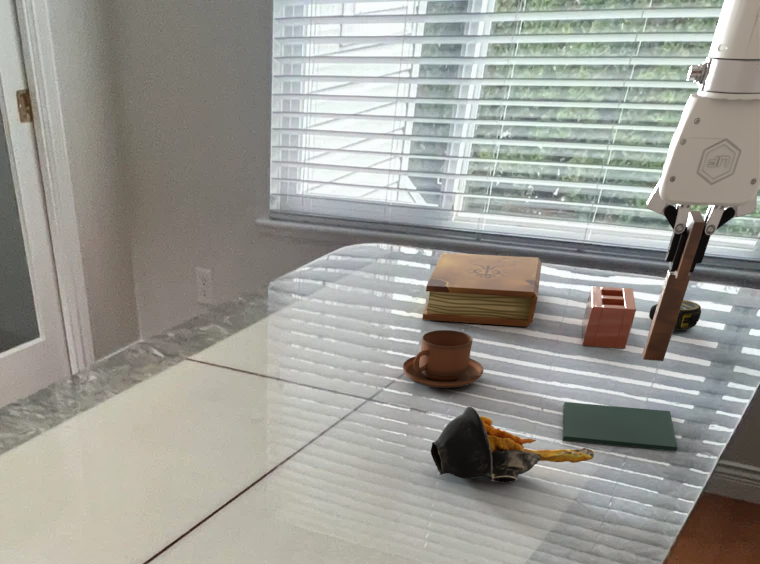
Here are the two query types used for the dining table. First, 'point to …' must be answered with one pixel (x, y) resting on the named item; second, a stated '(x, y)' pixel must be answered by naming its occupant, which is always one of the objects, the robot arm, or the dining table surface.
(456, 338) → the cup and saucer
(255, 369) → the dining table surface
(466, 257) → the diary
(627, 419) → the mat
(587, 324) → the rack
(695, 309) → the tape measure
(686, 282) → the notched brown wooden bar
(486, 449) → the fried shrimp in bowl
